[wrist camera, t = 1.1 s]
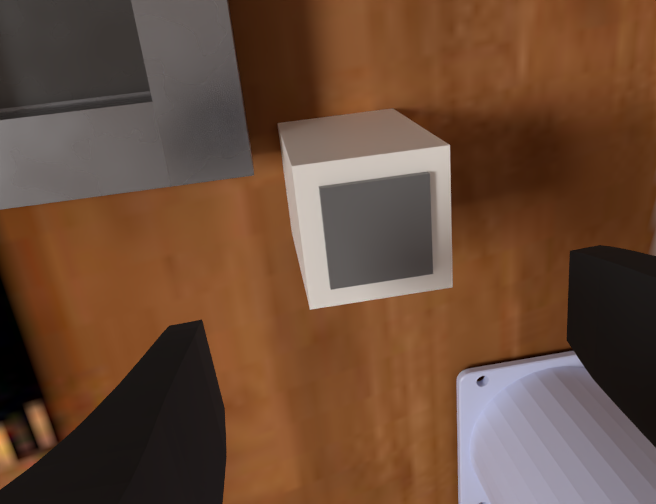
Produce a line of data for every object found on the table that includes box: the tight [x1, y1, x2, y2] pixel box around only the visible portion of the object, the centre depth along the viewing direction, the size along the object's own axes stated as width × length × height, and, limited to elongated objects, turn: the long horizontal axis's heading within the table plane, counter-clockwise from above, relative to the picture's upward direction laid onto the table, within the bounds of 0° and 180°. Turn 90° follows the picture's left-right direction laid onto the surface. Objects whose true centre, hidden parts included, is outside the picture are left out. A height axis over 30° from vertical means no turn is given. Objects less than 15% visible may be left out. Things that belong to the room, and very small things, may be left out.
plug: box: [277, 108, 453, 309], centre depth 18 cm, size 4×4×6 cm
